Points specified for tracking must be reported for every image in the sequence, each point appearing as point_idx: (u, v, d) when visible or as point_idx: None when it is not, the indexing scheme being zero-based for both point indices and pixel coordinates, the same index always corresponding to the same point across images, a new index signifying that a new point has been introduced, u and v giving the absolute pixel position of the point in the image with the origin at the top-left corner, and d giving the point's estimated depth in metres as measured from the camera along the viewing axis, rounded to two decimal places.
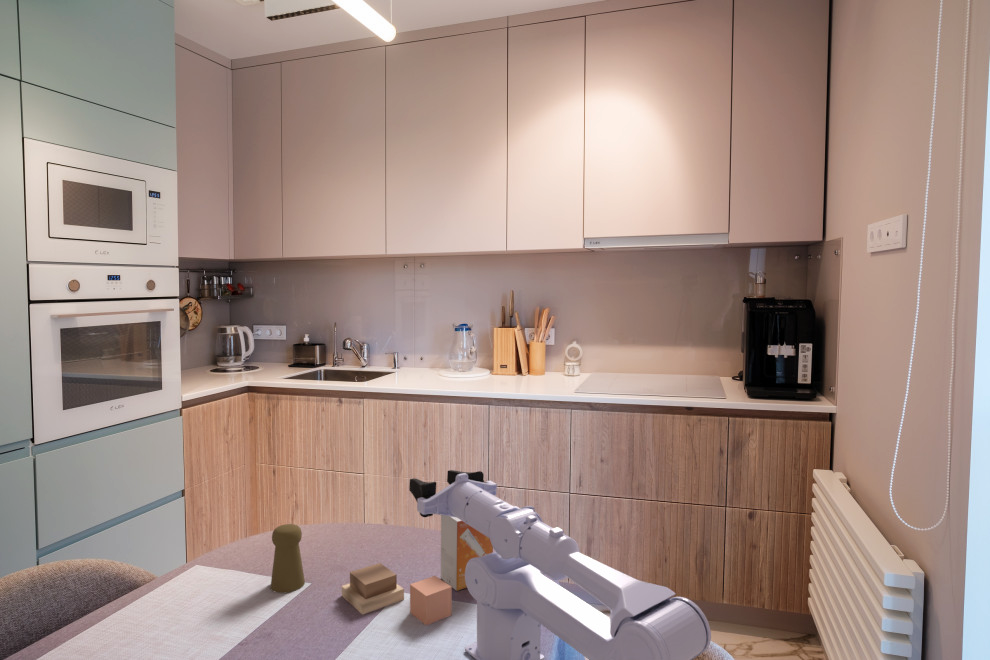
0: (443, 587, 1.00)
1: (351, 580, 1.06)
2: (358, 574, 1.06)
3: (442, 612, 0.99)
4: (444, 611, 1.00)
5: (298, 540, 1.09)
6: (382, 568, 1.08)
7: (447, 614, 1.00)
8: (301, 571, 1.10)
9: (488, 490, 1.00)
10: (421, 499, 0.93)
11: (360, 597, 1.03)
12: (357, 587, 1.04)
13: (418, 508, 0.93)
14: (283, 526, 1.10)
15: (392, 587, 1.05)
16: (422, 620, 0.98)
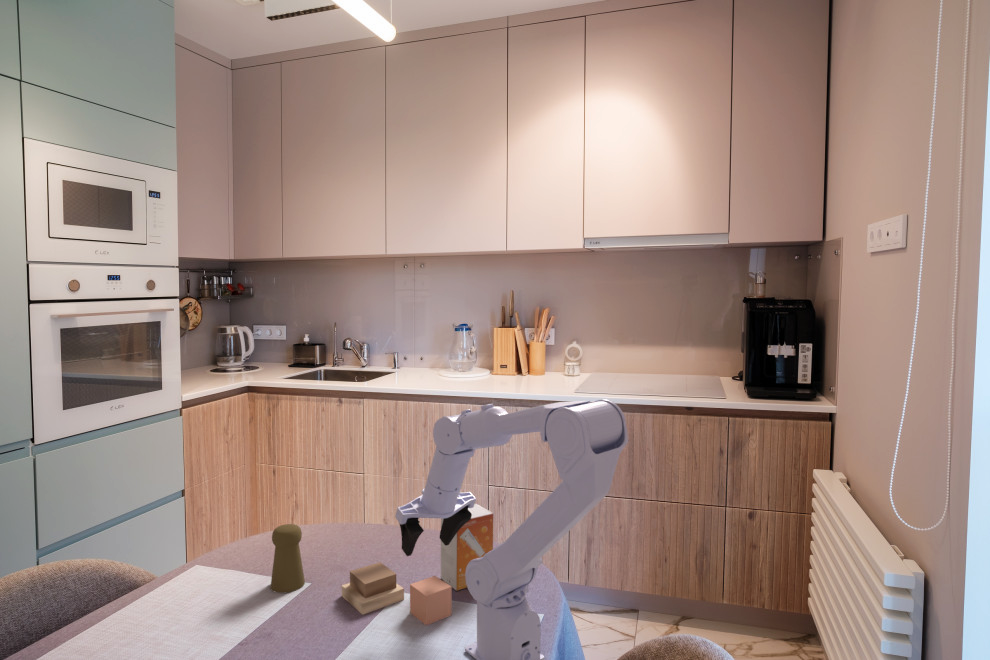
0: (443, 587, 1.00)
1: (351, 579, 1.06)
2: (357, 573, 1.06)
3: (442, 612, 0.99)
4: (444, 611, 1.00)
5: (298, 540, 1.09)
6: (382, 567, 1.08)
7: (447, 614, 1.00)
8: (301, 571, 1.10)
9: (464, 496, 1.03)
10: None
11: (360, 596, 1.03)
12: (357, 586, 1.04)
13: (399, 520, 0.95)
14: (283, 526, 1.10)
15: (392, 586, 1.05)
16: (422, 620, 0.98)
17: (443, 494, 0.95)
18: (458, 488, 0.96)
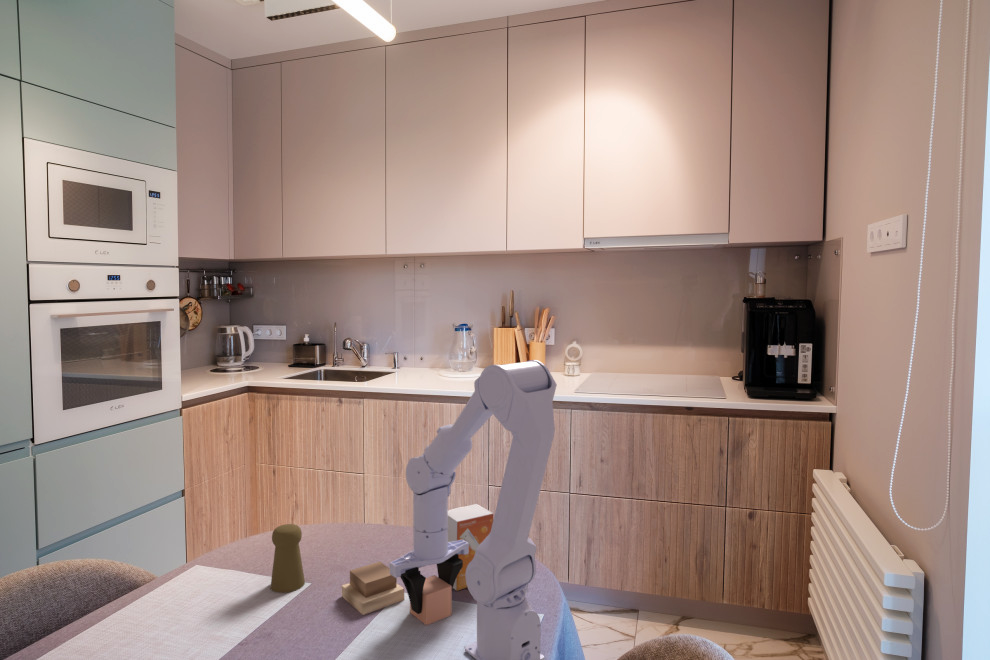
0: (443, 586, 1.00)
1: (351, 578, 1.06)
2: (358, 572, 1.06)
3: (442, 612, 0.99)
4: (444, 610, 1.00)
5: (298, 540, 1.09)
6: (382, 567, 1.08)
7: (447, 614, 1.00)
8: (301, 571, 1.10)
9: (457, 544, 1.04)
10: None
11: (360, 597, 1.02)
12: (357, 585, 1.04)
13: (394, 574, 0.95)
14: (283, 526, 1.10)
15: (392, 586, 1.05)
16: (422, 619, 0.98)
17: (430, 537, 0.97)
18: (444, 528, 0.99)
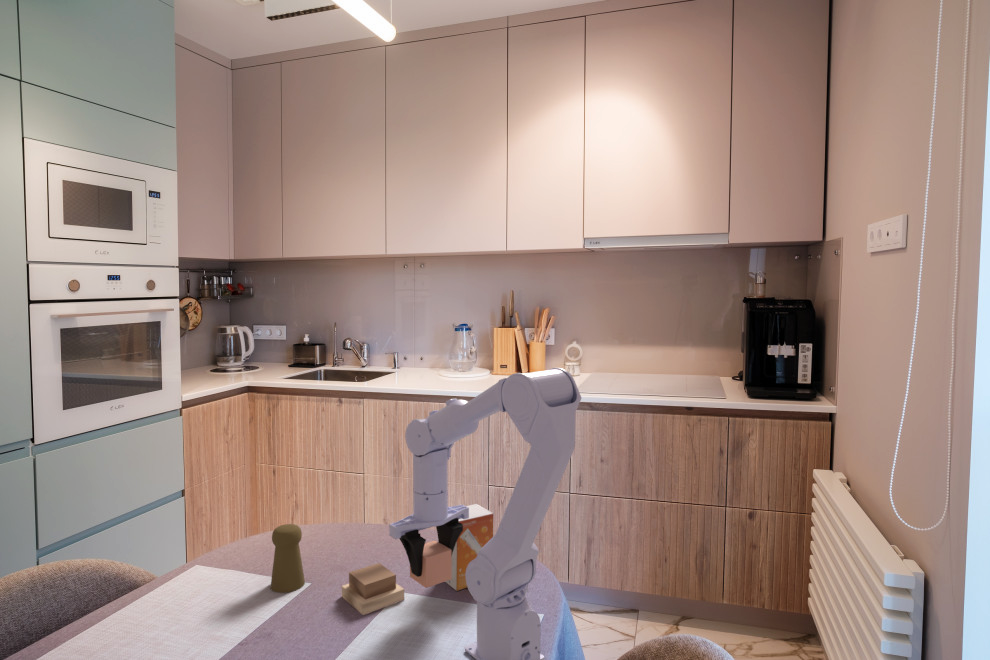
0: (443, 550, 1.00)
1: (350, 580, 1.06)
2: (357, 574, 1.05)
3: (442, 575, 0.99)
4: (444, 574, 0.99)
5: (298, 540, 1.09)
6: (381, 568, 1.08)
7: (447, 577, 1.00)
8: (301, 571, 1.10)
9: None
10: None
11: (360, 597, 1.02)
12: (356, 587, 1.04)
13: (394, 536, 0.95)
14: (283, 526, 1.10)
15: (391, 587, 1.05)
16: (422, 583, 0.98)
17: (430, 499, 0.97)
18: (444, 490, 0.98)
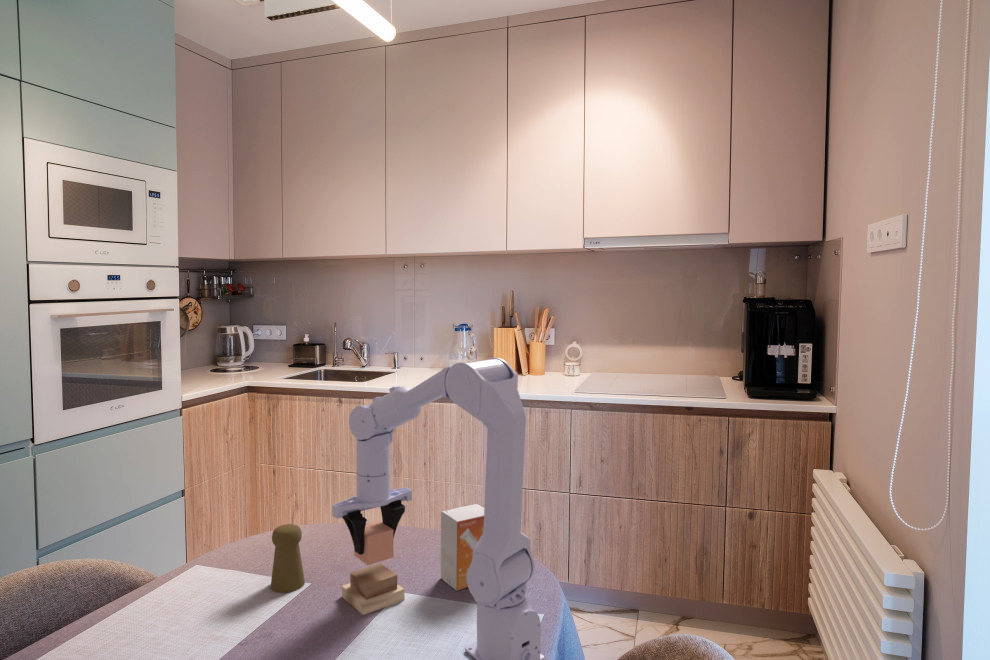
0: (385, 530, 1.05)
1: (351, 581, 1.06)
2: (358, 575, 1.05)
3: (384, 553, 1.04)
4: (386, 552, 1.04)
5: (298, 540, 1.09)
6: (382, 568, 1.08)
7: (389, 556, 1.05)
8: (301, 571, 1.10)
9: None
10: None
11: (361, 597, 1.02)
12: (358, 588, 1.04)
13: (335, 515, 1.00)
14: (283, 526, 1.10)
15: (393, 587, 1.05)
16: (364, 560, 1.03)
17: (371, 480, 1.02)
18: (386, 472, 1.04)
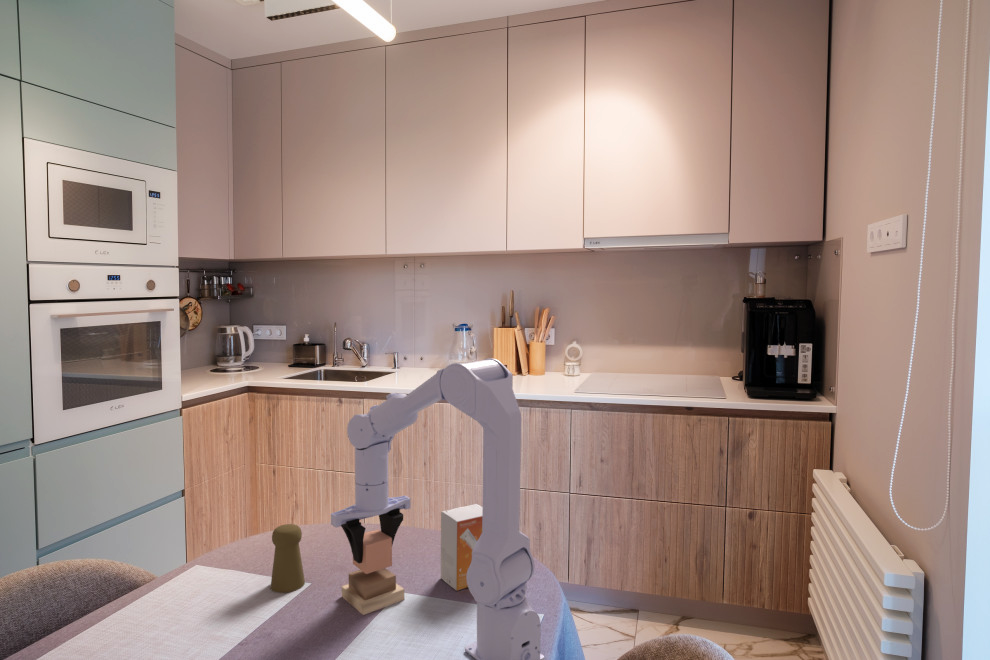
0: (383, 538, 1.05)
1: (350, 581, 1.05)
2: (356, 575, 1.05)
3: (382, 562, 1.04)
4: (384, 561, 1.05)
5: (298, 540, 1.09)
6: (381, 569, 1.08)
7: (388, 564, 1.05)
8: (301, 571, 1.10)
9: (399, 499, 1.09)
10: None
11: (360, 597, 1.02)
12: (356, 588, 1.04)
13: (334, 524, 1.00)
14: (283, 526, 1.10)
15: (391, 588, 1.05)
16: (363, 569, 1.03)
17: (370, 489, 1.02)
18: (385, 481, 1.04)
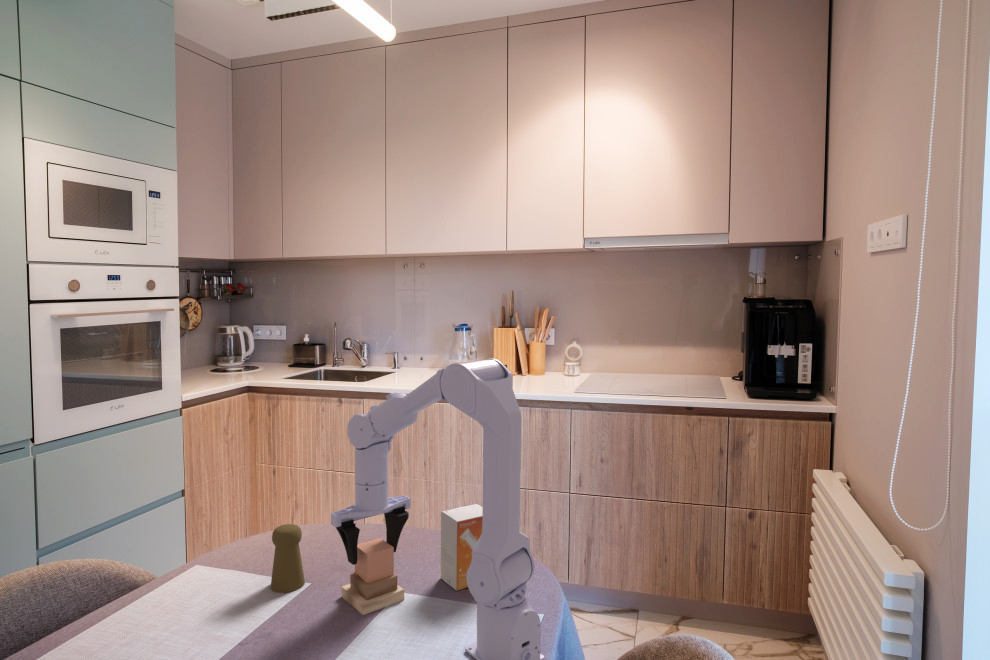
0: (385, 547, 1.05)
1: (351, 581, 1.06)
2: None
3: (384, 571, 1.04)
4: (386, 570, 1.05)
5: (298, 540, 1.09)
6: None
7: (389, 573, 1.05)
8: (301, 571, 1.10)
9: (399, 499, 1.09)
10: None
11: (360, 598, 1.02)
12: (358, 588, 1.04)
13: (334, 524, 1.00)
14: (283, 526, 1.10)
15: (393, 588, 1.05)
16: (364, 578, 1.03)
17: (370, 489, 1.02)
18: (385, 481, 1.04)
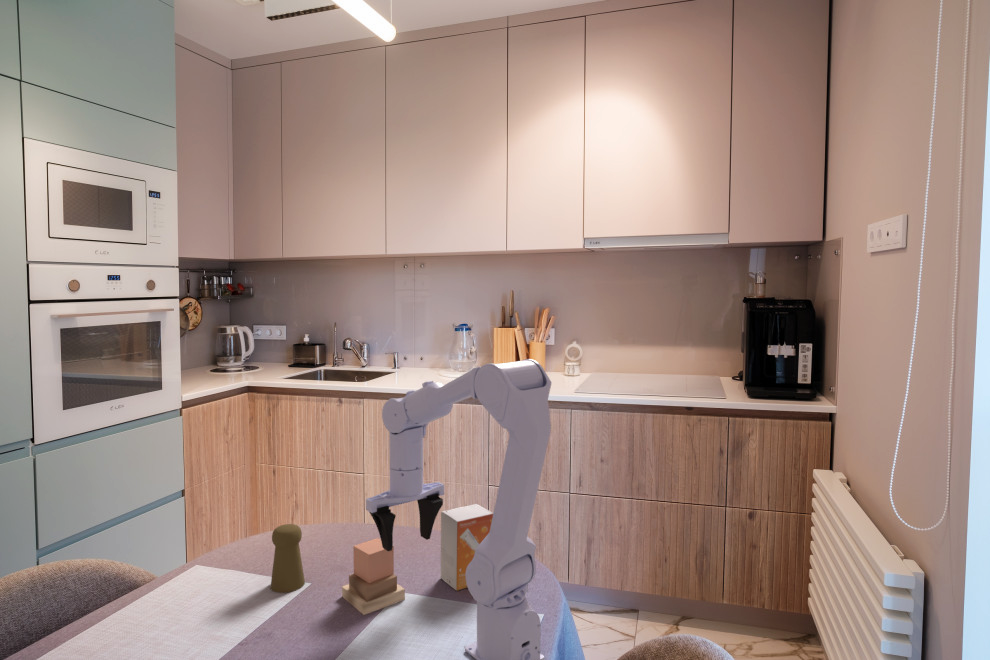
0: None
1: (350, 583, 1.05)
2: (357, 577, 1.05)
3: (385, 570, 1.05)
4: (386, 569, 1.05)
5: (298, 540, 1.09)
6: None
7: (390, 573, 1.05)
8: (301, 571, 1.10)
9: None
10: None
11: None
12: (357, 590, 1.03)
13: (370, 510, 0.99)
14: (283, 526, 1.10)
15: (393, 589, 1.05)
16: (365, 578, 1.03)
17: (405, 474, 1.01)
18: (419, 467, 1.02)
